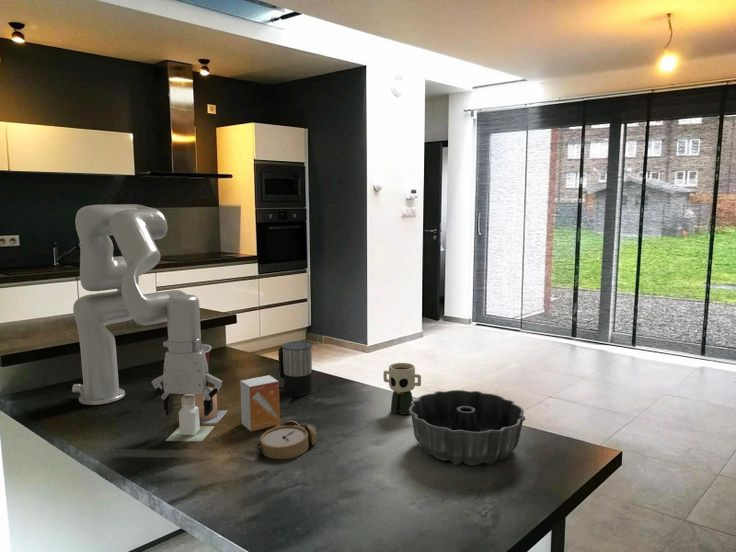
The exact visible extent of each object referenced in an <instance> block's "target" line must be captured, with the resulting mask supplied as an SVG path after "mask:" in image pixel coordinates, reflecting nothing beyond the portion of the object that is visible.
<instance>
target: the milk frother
mask: <svg viewBox="0 0 736 552" xmlns="http://www.w3.org/2000/svg"><path fill="white" fill-rule="evenodd" d="M312 347H313V344H312V343H311V342H308V341H289V342H288V341H287V342H285V343H283V344H282V345H281V346H280V347H279V348H278V352H277V353H278V354H277V355H278V356H277V357H278V367H279V368H278V369H279V378H280V379H283V387H281V386H279V390H282V392H283V393H293V394H292V397H303V396H309V395H310V394H311V395H312V393H314V388H313V376H312V375H313V372H312V370H313V369H312V366H313V365H312V364H313V363H312V357H313V356H312V351H313V350H312Z"/></svg>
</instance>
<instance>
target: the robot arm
mask: <svg viewBox="0 0 736 552" xmlns="http://www.w3.org/2000/svg"><path fill="white" fill-rule="evenodd" d="M74 222H75V223H74V224H75V230H76V232H77V236H78V239H79V246H80V256H79V280H80V285H81V287H82V288H83V289H84V290H85V291H88V292H97V293H92V294H91V293H90V294H86V295H83V296H81V297H79V298H77V299H76V300H75V301H74V304H73V307H72V311H73V314H74V320H75V323H76V326H77V327H76V328H77V332H78V337H79V338H78V339H79V347H80V349H79V350H80V358H81V361H80V362H81V370H82V371H81V372H82V382H83V384H81V383H74V384H73V385H72V389H71V392H72V393H79V397H78V402H79V403H80V404H82V405H86V406H97V405H105V404H110V403H113V402H117V401H119V400H121V399H122V398H124V397H125V395H126V391H125V390H124V389H123V388H120V387H119V386H120V385H119V384H120V383H119V371H118V370H119V369H118V360H117V359H118V358H117V346H116V345H117V344H116V338H115V336H114V334H113V333H112V332H111V331H110V330H109V329H108V328H107V327H106V326H108V325H111V324H117V323H124V322H128V321H131V320H133V321H134V322H135V323H136V324H137V325H140V326H149V325H155V324H161V323H166V322H167V337H168V339H167V340H164V341H163V342H162V344H163V345H162V346H163V347H165V348H167V351H166V352H165V353H164V361H163V373H162V375H160V376H158V377H156V378H155V379H153V380H152V381H151V385H152V386H153V388H154V389H155V392H156V394H158V395H159V396H160V398H161V400H163V410H164V412H165V416H170V414H172V413H173V412H174V397H173V395H186V394H200V393H201V394H202V395H203V396H204V398H205V400H204V415H205V416H208V415H209V414H210V413H211V411H212V410H213V400H212V397H213V396H214V395H215V394H216V395H217V393H218V392H219V390H220V389H221V386H222V385H223V383H224V382H223V380H221V379H219V378H218V377H216V376H213V374H210V373H209V364H208V365H207V360H206V356H205V352H204V350H202V349H201V344H202V334H201V333H202V332H201V329H202V328H201V313H200V312H201V311H200V307H201V306H200V300H199V297H197V296H196V295H194V294H187V293H186V292H184V291H182V290H179V289H174V290H173V289H172V290H166V291H157V292H151V293H145V294H144V293H142V292H141V290H140V287H139V281H140V279H139V278H140V276H142V275H143V274H145V273H147V272H148V271H149V272H150V271H151V270H152V269H153V268H154V267H156V265H158V264H159V262H160V261H161V252H160V251H159V248H158V245H156V242H155V240H160V239H163V238H164V237H166V235H167V233H168V223H167V219H166V217H165V216H164V213H162V211H160V210H159V209H157V208H154V207H149V206H145V205H142V204H135V203H134V204H131V203H130V204H126V203H125V204H92V205H91V204H90V205H86V206H83V207H81V208H80V209H78V210H77V212H76V215H75V221H74ZM110 236H113V238H114V240H115V243H116V244H117V248H118V249H119V251H120V253H121V256H119V255H118V256H114V244H113V241H112V239H111V238H110ZM110 290H111V291H110ZM112 290H113V291H112ZM114 290H115V291H114ZM103 291H106V292H103ZM107 291H108V292H107ZM162 382H163V383H162ZM161 383H162V384H163V386H162V384H161ZM210 383H211V384H213V385H214V387H213V388H214V389H213V390H211V389H210V388H211V387H210ZM171 394H173V395H171Z"/></svg>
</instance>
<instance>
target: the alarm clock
mask: <svg viewBox="0 0 736 552" xmlns="http://www.w3.org/2000/svg"><path fill="white" fill-rule="evenodd" d="M316 428H317V427H316V426H315V425H313V424H309V423H298V422H297V421H295V420H288V421H286V422H284V423H283V425H280V426H279V427H275V426H274V427H272V428H270V429H267V430H266V431H265V432H264V433H262V434H261V435H260V445H259V446H257V448H261V453H262V455H264V456H265V457H267V458H270V459H273V460H286V459H287V460H288V459H293V458H297V457H299V456H301V455H303V454H304V453H305V452H307V451H308V449H309V448H310V446H313V445H315V443H316V441H317V438H318V437H317V436H318V435H319V432H317V429H316ZM309 443H311V445H310V444H309Z"/></svg>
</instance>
